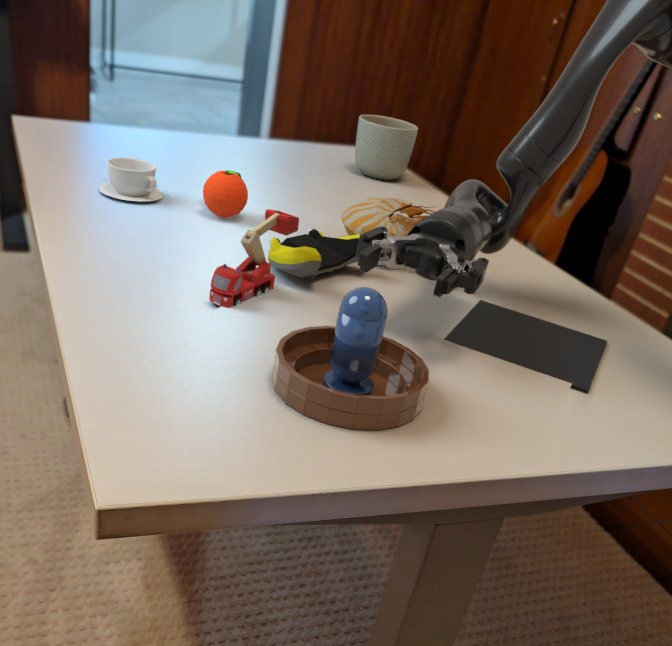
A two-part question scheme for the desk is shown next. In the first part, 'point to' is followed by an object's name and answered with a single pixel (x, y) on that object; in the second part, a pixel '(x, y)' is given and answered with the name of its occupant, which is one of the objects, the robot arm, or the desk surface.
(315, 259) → the black yellow sneaker
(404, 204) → the nautilus shell
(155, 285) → the desk surface
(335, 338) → the blue pill figure
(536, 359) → the mat
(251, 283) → the toy fire truck
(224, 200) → the clementine
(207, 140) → the desk surface
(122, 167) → the teacup
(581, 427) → the desk surface
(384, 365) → the bowl
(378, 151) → the planter
